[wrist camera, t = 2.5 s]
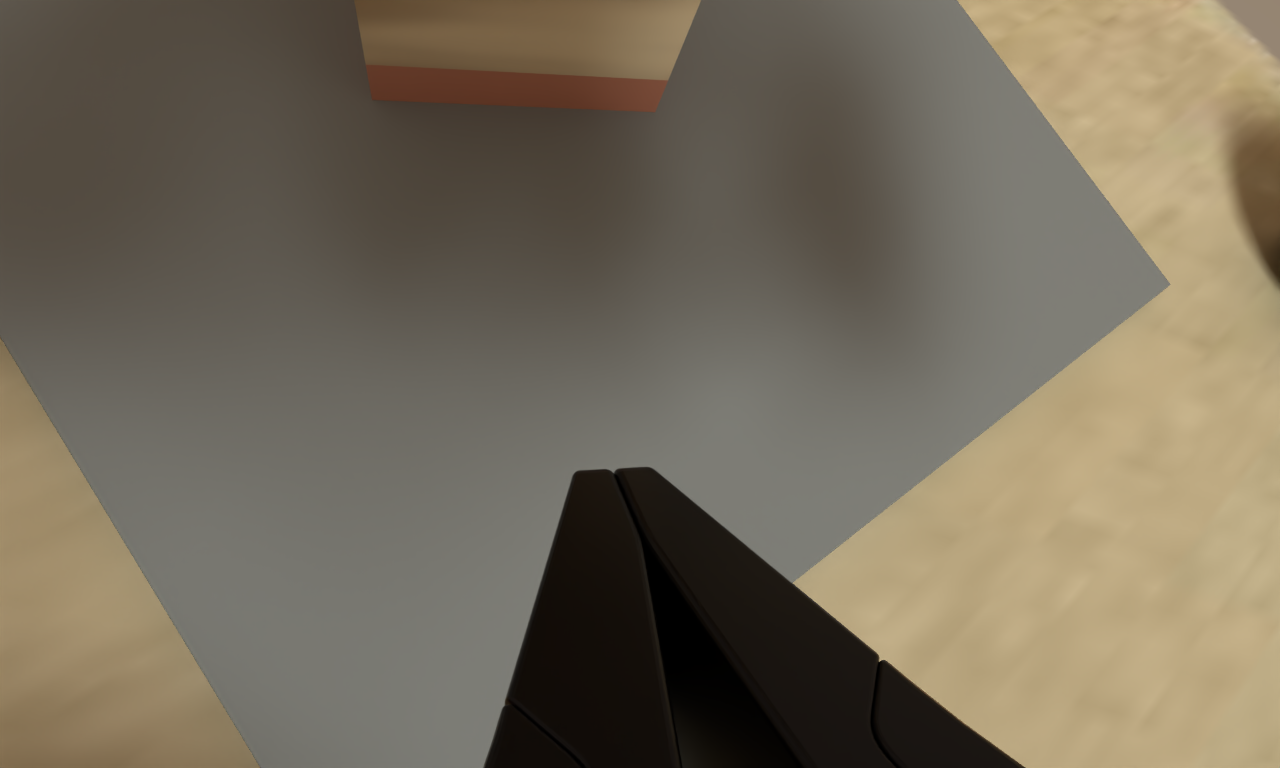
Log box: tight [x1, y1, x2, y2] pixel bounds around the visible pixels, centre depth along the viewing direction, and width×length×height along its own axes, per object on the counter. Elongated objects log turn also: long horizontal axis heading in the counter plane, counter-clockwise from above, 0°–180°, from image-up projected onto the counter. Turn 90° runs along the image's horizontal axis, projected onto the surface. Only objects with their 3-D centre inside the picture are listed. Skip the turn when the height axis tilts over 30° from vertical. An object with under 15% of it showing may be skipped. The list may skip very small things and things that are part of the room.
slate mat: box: [0, 0, 1170, 768], centre depth 18 cm, size 26×22×1 cm
